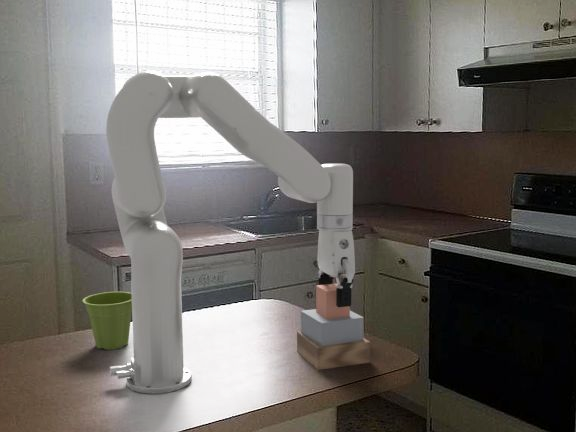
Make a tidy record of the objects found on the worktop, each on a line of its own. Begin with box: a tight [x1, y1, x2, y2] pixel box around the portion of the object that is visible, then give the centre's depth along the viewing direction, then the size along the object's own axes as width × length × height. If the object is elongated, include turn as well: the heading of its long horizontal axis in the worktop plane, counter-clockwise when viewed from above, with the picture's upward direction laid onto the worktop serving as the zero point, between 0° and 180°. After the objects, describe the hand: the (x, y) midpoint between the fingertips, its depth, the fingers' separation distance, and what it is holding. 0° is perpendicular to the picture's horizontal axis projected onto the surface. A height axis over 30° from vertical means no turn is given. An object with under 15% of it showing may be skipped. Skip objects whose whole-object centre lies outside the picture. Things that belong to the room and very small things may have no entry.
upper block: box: [300, 308, 365, 346], centre depth 144 cm, size 10×10×5 cm
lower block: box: [296, 330, 371, 371], centre depth 144 cm, size 12×12×5 cm
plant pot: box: [82, 291, 132, 351], centre depth 152 cm, size 12×12×11 cm
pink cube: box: [315, 283, 351, 319], centre depth 143 cm, size 6×6×6 cm
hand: (334, 300), depth 143 cm, fingers open, 9 cm apart
